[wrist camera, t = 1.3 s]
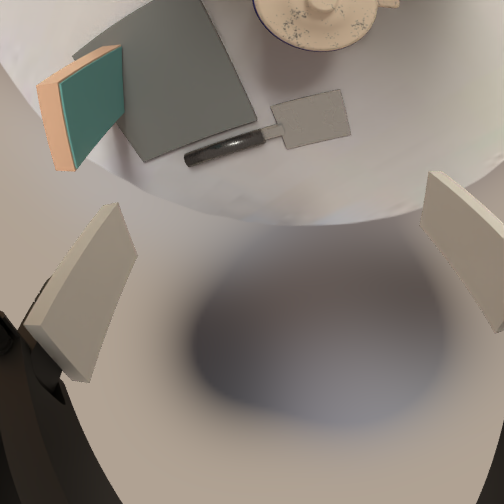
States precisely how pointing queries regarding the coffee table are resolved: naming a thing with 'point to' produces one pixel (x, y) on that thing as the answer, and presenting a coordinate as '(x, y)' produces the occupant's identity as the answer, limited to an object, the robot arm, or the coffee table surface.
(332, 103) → the turner
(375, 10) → the teacup with lid
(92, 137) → the tile
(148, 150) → the mat
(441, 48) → the coffee table surface
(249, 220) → the coffee table surface
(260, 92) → the coffee table surface
